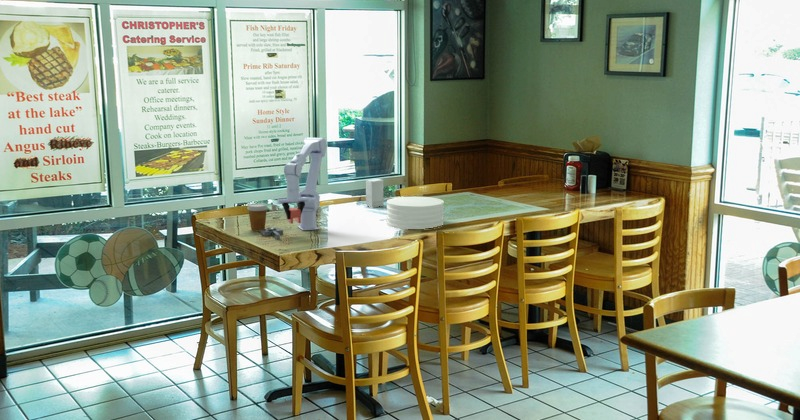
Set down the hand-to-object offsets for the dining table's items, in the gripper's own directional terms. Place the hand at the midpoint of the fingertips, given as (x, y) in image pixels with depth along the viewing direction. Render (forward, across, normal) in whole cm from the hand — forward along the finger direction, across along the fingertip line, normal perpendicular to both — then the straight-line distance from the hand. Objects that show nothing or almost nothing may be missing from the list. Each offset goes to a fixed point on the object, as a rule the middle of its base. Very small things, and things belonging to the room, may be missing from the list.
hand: (293, 218), depth 386 cm
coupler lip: (+8, -9, +1) cm, 12 cm away
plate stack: (+8, +62, +3) cm, 63 cm away
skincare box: (+8, +60, +55) cm, 82 cm away
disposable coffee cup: (+8, -13, +17) cm, 23 cm away
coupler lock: (+2, 0, 0) cm, 2 cm away
